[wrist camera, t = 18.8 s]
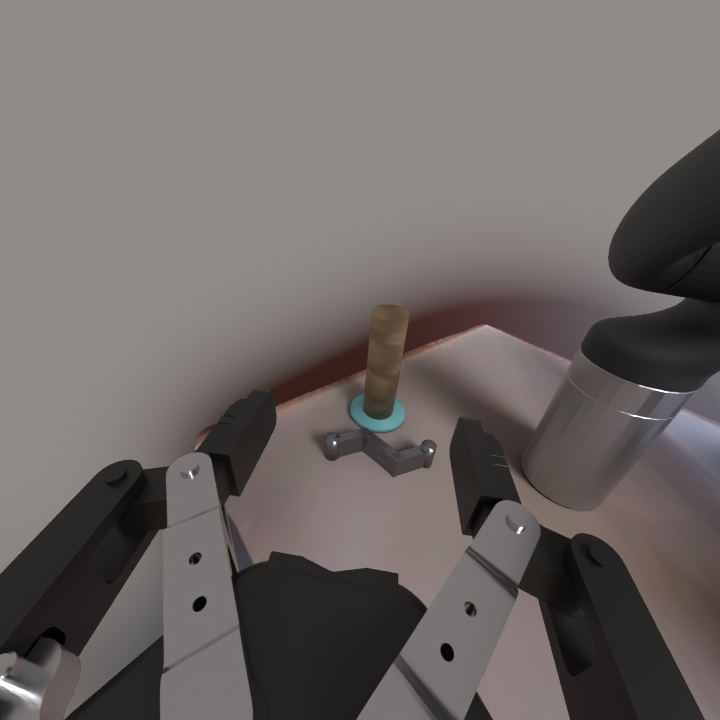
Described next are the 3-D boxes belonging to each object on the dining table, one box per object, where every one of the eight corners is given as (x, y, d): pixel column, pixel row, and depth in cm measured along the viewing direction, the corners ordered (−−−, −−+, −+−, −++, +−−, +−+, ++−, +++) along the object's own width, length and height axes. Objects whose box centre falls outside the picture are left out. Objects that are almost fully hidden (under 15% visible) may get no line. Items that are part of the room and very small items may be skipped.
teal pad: (394, 393, 50) (395, 389, 49) (412, 429, 43) (413, 425, 43) (345, 397, 48) (346, 394, 48) (356, 436, 41) (356, 432, 41)
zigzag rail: (428, 447, 40) (432, 430, 39) (434, 480, 36) (440, 463, 34) (327, 439, 40) (328, 422, 39) (322, 471, 36) (322, 453, 34)
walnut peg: (387, 398, 47) (402, 304, 39) (397, 418, 44) (414, 318, 35) (360, 400, 46) (368, 305, 38) (367, 421, 43) (378, 320, 34)
